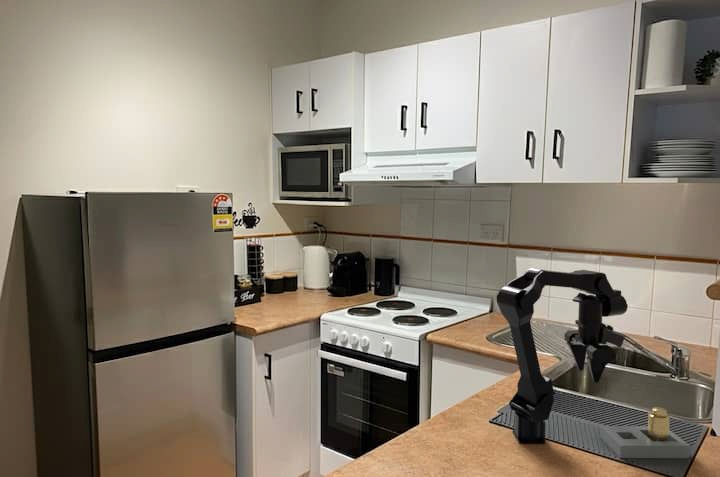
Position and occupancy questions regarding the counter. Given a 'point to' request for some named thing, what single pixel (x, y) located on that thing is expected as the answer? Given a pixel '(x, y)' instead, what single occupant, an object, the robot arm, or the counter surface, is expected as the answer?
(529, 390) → the robot arm
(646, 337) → the counter surface
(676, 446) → the socket block
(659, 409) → the brass fitting
